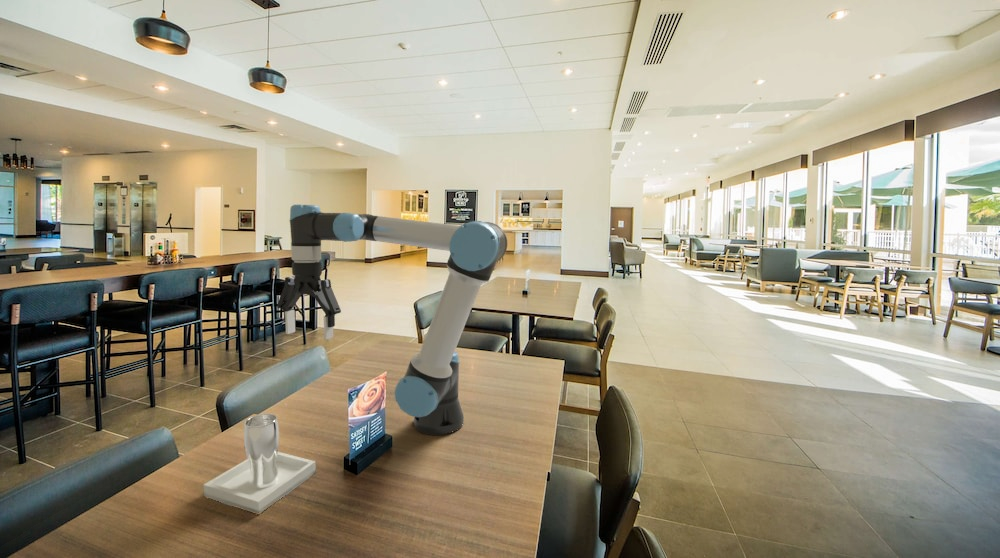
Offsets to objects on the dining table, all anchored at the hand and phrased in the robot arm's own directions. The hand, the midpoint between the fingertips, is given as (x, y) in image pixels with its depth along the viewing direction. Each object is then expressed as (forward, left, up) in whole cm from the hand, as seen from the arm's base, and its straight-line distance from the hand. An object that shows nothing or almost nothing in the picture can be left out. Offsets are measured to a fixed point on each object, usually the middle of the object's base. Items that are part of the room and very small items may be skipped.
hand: (309, 335), depth 118 cm
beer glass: (-8, +24, -28) cm, 38 cm away
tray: (-8, +24, -29) cm, 38 cm away
